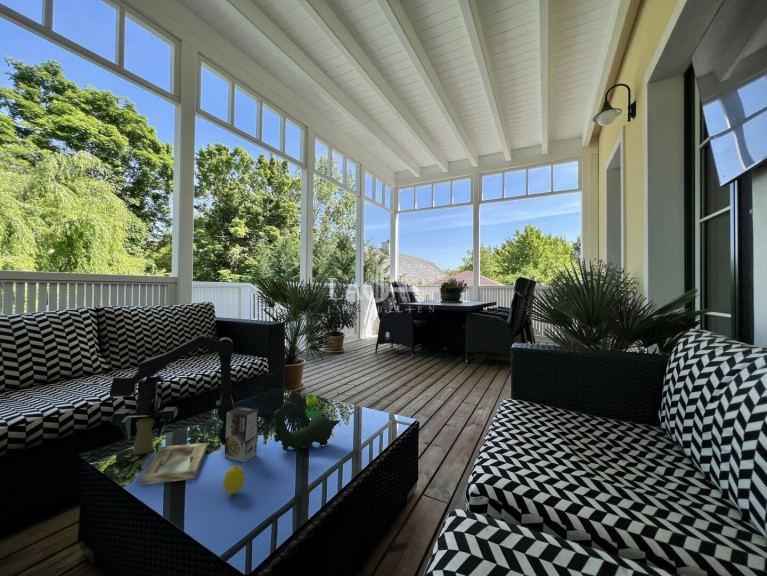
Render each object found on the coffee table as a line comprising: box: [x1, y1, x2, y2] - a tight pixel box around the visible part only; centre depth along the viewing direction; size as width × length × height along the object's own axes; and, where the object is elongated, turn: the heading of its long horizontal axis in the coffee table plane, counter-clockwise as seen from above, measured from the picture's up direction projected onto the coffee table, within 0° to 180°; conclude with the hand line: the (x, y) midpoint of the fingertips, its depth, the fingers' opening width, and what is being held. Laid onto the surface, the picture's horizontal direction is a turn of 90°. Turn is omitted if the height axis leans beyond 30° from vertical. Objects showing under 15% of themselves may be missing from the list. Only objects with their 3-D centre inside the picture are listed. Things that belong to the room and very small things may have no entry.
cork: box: [131, 417, 155, 455], centre depth 116 cm, size 6×6×11 cm
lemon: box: [223, 465, 246, 495], centre depth 94 cm, size 6×6×8 cm
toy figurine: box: [272, 401, 340, 452], centre depth 125 cm, size 9×19×25 cm
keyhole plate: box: [140, 442, 208, 486], centre depth 107 cm, size 14×20×2 cm
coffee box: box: [224, 406, 260, 463], centre depth 116 cm, size 9×6×16 cm
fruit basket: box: [305, 393, 327, 419], centre depth 157 cm, size 11×9×11 cm
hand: (143, 438), depth 116 cm, fingers open, 9 cm apart
